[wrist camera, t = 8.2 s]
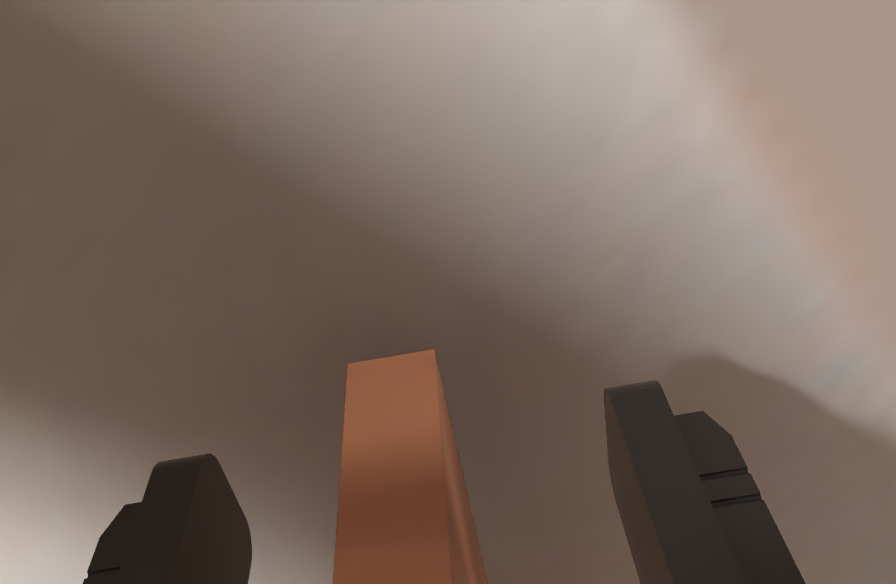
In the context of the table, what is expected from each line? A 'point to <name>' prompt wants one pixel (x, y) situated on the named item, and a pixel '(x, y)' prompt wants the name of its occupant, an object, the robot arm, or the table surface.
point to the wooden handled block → (402, 480)
